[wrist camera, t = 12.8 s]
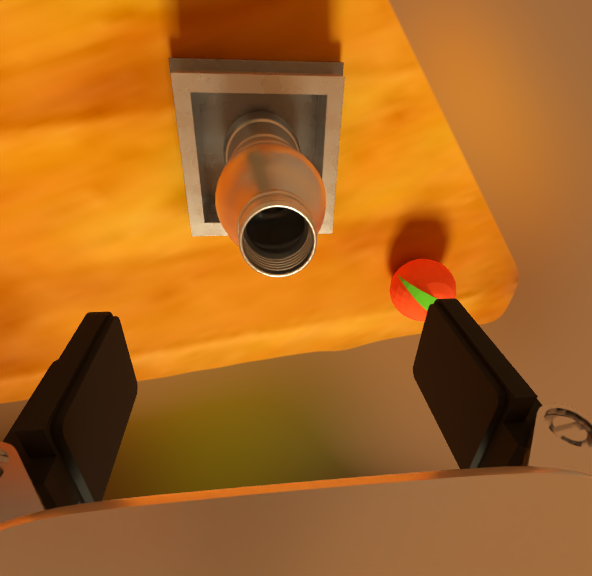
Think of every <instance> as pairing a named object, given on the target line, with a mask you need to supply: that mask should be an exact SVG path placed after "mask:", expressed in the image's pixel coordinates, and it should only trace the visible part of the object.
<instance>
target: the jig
mask: <svg viewBox="0 0 592 576" xmlns="http://www.w3.org/2000/svg"><path fill="white" fill-rule="evenodd" d="M343 64H344V63H343V62H317V61H280V60H242V59H204V58H169V65H170V73H171V81H172V88H173V96H174V103H175V111H176V119H177V126H178V134H179V142H180V149H181V157H182V165H183V172H184V180H185V187H186V195H187V203H188V210H189V218H190V226H191V233H192V236H226V235H228V234H227V233H226V231H225V230H224V228H223V227H222V225H221V223H220V220H219V218H218V215H217V210H216V205H215V192H216V187H217V182H218V180H219V178H220V175H221V173H222V171H223V169H224V167H225V166H226V164H225V161H224V155H223V145H224V140H225V136H226V134H227V132H228V130H229V128H230V127H231V125H232V124H233V123H234V122H235V121H236V120H237V119H238V118H240V117H241V116H243V115H245V114H247V113H251V112H256V111H264V112H270V113H273V114H275V115H277V116H279V117H281V118H282V119H284V120H285V121H286V122H287V123H288V124H289V125H290V126H291V128H292V129H293V130H294V132H295V134H296V136H297V138H298V141H299V145H300V151H301V154H302V155H304V156H305V157H306V158H307V159H308V160H309V161H310V162H311V163H312V164H313V166H314V167H315V168H316V170H317V171H318V173H319V174H320V177H321V179H322V181H323V183H324V187H325V191H326V211H325V217H324V220H323V223H322V226H321V229H320V231H319V232H318V234H328V233H332V227H333V215H334V202H335V190H336V178H337V165H338V153H339V141H340V128H341V116H342V104H343V91H344V79H345V77H344V76H343Z"/></svg>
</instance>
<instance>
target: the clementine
mask: <svg viewBox="0 0 592 576" xmlns="http://www.w3.org/2000/svg"><path fill="white" fill-rule="evenodd" d="M390 294H391V299H392V302H393V304H394V305H395V307H396V308H397V310H398V311H399V312H400V313H402V314H403V315H404V316H406V317H408V318H410V319H412V320H416V321H425V319H426V315H427V311H428V307H429V305H430V304H434V301H435V300H436V299H450V298H455V296H456V284H455V280H454V278H453V276H452V274H451V272H450V271H449V270H448V269H447V268H446V267H445V266H444V265H442V264H441V263H439V262H437V261H435V260H430V259H424V258H423V259H415V260H412V261H409V262H407V263H405V264H404V265H402V266H401V267H400V268H399V269H398V270H397V271H396V273H395V274H394V276H393V278H392V280H391V287H390Z"/></svg>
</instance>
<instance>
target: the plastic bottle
mask: <svg viewBox="0 0 592 576" xmlns="http://www.w3.org/2000/svg"><path fill="white" fill-rule="evenodd" d="M223 155H224V161H225V164H226V166H225V167H224V169H223V171H222V173H221V175H220V178H219V180H218V182H217V187H216V192H215V205H216V210H217V215H218V218H219V220H220V223H221V225H222V227H223V228H224V230H225V231H226V233H227V234H228V236H229V237H230V238H231V239H232V240H233V241H234V243H235V244H236V245H237V246H239V247H240V250H241V253H242V255H243V258H244V259H245V261H246V262H247V263H248V264H249V265H250V266H251V267H252V268H253V269H254V270H256V271H257V272H259V273H261V274H263V275H266V276H270V277H286V276H290V275H293V274H295V273H297V272H299V271H300V270H302V269H303V268H304V267H305V266H306V265H307V264H308V263H309V262H310V261H311V259H312V257H313V256H314V253H315V250H316V244H317V234H318V232H319V231H320V229H321V226H322V223H323V220H324V217H325V211H326V191H325V187H324V183H323V181H322V179H321V177H320V174H319V173H318V171H317V170H316V168H315V167H314V166H313V164H312V163H311V162H310V161H309V160H308V159H307V158H306V157H305V156H304V155H302V154H301V151H300V145H299V141H298V138H297V136H296V134H295V132H294V130H293V129H292V128H291V126H290V125H289V124H288V123H287V122H286V121H285V120H284V119H282V118H281V117H279V116H277V115H275V114H273V113H270V112H264V111H256V112H251V113H247V114H245V115H243V116H241V117H240V118H238V119H237V120H236V121H235V122H234V123H233V124H232V125H231V127H230V128H229V130H228V132H227V134H226V136H225V140H224V145H223Z"/></svg>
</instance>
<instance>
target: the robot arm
mask: <svg viewBox="0 0 592 576" xmlns="http://www.w3.org/2000/svg"><path fill="white" fill-rule="evenodd" d="M413 374H414V378H415V380H416V382H417V384H418V386H419V388H420V390H421V392H422V394H423V396H424V398H425V400H426V402H427V404H428V406H429V408H430V410H431V412H432V414H433V416H434V417H435V420H436V422H437V424H438V426H439V428H440V430H441V432H442V434H443V436H444V438H445V440H446V442H447V444H448V446H449V448H450V450H451V452H452V454H453V455H454V458H455V460H456V461H457V463H458V466H459V468H460V469H456V470H441V471H429V472H417V473H404V474H392V475H380V476H367V477H355V478H343V479H332V480H321V481H308V482H297V483H286V484H274V485H263V486H251V487H240V488H230V489H218V490H207V491H196V492H187V493H186V492H185V493H175V494H165V495H153V496H144V497H136V498H126V499H116V500H108V501H102V499H103V496H104V493H105V490H106V487H107V484H108V481H109V478H110V475H111V472H112V469H113V465H114V463H115V459H116V456H117V453H118V450H119V447H120V444H121V441H122V438H123V435H124V432H125V429H126V426H127V423H128V420H129V416H130V413H131V411H132V407H133V404H134V401H135V398H136V395H137V381H136V377H135V373H134V370H133V366H132V362H131V359H130V355H129V352H128V348H127V344H126V341H125V337H124V333H123V330H122V326H121V323H120V320H119V318H118V317H117V316H113V315H112V313H111V312H89V313H87V314H86V316H85V317H84V319H83V320H82V322H81V324H80V325H79V327H78V329H77V330H76V332H75V333H74V335H73V337H72V338H71V340H70V342H69V343H68V345H67V346H66V348H65V350H64V351H63V353H62V355H61V356H60V358H59V359H58V360H56V361H54V362H53V363H52V365H51V366H50V367H49V369H48V370H47V372H46V374H45V375H44V377H43V378H42V380H41V382H40V383H39V385H38V386H37V388H36V390H35V391H34V393H33V394H32V396H31V398H30V399H29V401H28V402H27V404H26V406H25V407H24V409H23V410H22V412H21V414H20V415H19V417H18V418H17V420H16V421H15V423H14V425H13V426H12V428H11V429H10V431H9V433H8V434H7V436H6V437H5V439H4V440H3V442H0V576H592V419H591V418H590V417H588V416H587V415H586V414H584V413H583V412H581V411H579V410H577V409H574V408H572V407H569V406H566V405H563V404H556V403H550V404H545V405H543V406H542V404H541V403H540V402H539V401H538V400H537V395H536V394H535V393H534V391H533V390H532V389H531V388H530V387H529V385H528V384H527V383H526V382H525V381H524V379H523V378H522V377H521V376H520V375H519V373H518V372H517V371H516V370H515V368H514V367H513V366H512V365H511V364H510V363H509V361H508V360H507V359H506V358H505V356H504V355H503V354H502V353H501V352H500V350H499V349H498V348H497V347H496V346H495V344H494V343H493V342H492V341H491V340H490V338H489V337H488V336H487V335H486V334H485V332H484V331H483V330H482V329H481V328H480V326H479V325H478V324H477V323H476V321H475V320H474V319H473V318H472V317H471V315H470V314H469V313H468V312H467V311H466V309H465V308H464V307H463V306H462V305H461V303H460V302H459V301H458V300H457V299H455V298H450V299H436V300H435V301H434V304H430V305H429V307H428V311H427V315H426V319H425V323H424V326H423V330H422V334H421V338H420V342H419V346H418V350H417V354H416V358H415V362H414V366H413Z"/></svg>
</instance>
